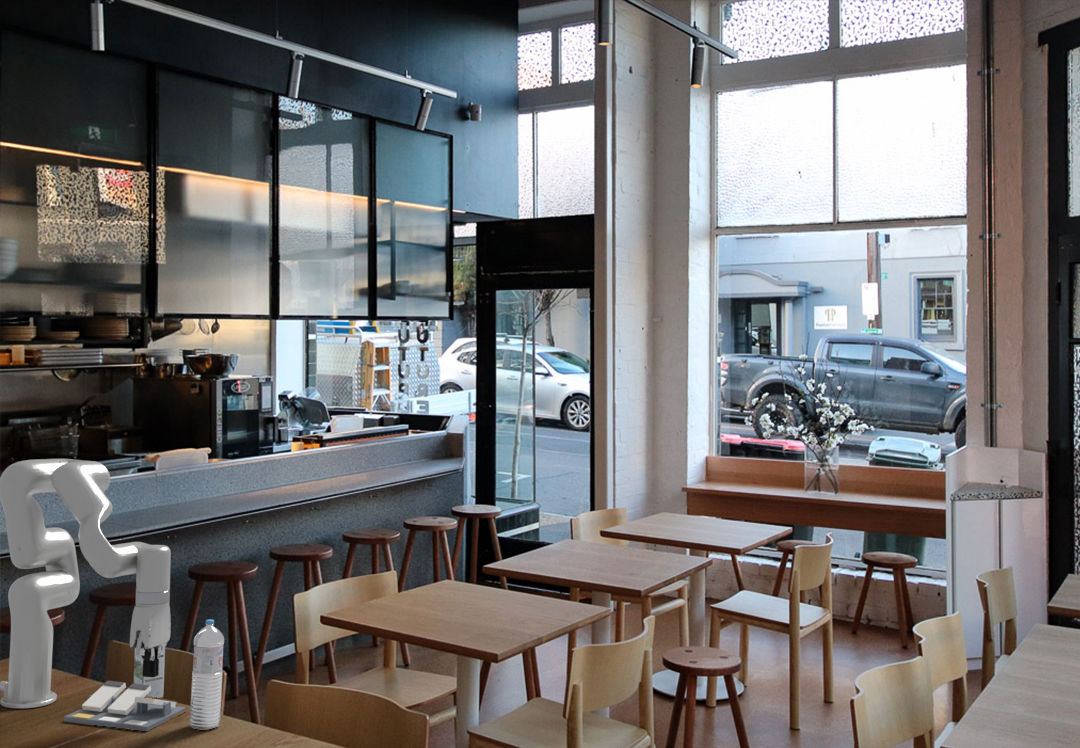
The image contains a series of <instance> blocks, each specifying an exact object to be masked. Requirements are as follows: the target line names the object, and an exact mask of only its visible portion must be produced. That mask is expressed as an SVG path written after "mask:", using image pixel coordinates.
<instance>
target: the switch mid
mask: <svg viewBox="0 0 1080 748" xmlns="http://www.w3.org/2000/svg"><path fill="white" fill-rule="evenodd" d="M150 691H151V686H149V685H142V684H133V683H132V684H131V685H129V687H127V689H125V690H124V691H123V693H121V694H120V695H119V696H120V697H119V698H118V699H117V700H116V701H115V702H114V703H113V704H112V705H110V706H109V707H108V713H115V714H123V715H127V714H128V713H129V712H130V711H131V710H132V709H133V708H134V707H135V706H136V705H137V702H134V700H135V697H143V698H144V697H145V696H146V695H147V694H148V693H149V692H150Z"/></svg>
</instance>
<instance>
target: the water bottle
mask: <svg viewBox="0 0 1080 748" xmlns="http://www.w3.org/2000/svg"><path fill="white" fill-rule="evenodd" d="M214 625H215V620H214V619H213V618H212V619H206V620H205V626H204V627H203V628H201V629H200V630H199V631H198V632H197V633H196V635H195V636H194V638H193V661H192V662H193V663H192V673H191V675H192V676H191V679H192V680H191V692H190V716H189V726H191V727H193V728H195V729H212V728H215V727H217V728H218V727H219V726H220V723H221V711H222V693H223V692H222V691H223V690H222V689H223V672H224V671H223V659H224V658H223V657H224V643H225V637H224V635H223V633H222V632H221V631H220V630H219V629H218V628H217V627H215V626H214ZM191 727H190V728H191ZM215 729H216V728H215ZM212 730H213V729H212Z"/></svg>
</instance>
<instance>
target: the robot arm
mask: <svg viewBox="0 0 1080 748" xmlns="http://www.w3.org/2000/svg"><path fill="white" fill-rule="evenodd" d="M110 483H111V475H110V471H109V470H108V468H107V467H106V466H105V465H104V464H103V463H101V462H98V461H95V460H93V461H92V460H84V459H83V460H82V459H72V458H45V459H44V458H42V459H41V458H40V459H27V460H21V461H16V462H14V463H12V464H10V465H8V466H7V467H6V468H5V469H4V471H3V472H2V473H1V476H0V503H1V506H2V510H3V514H4V518H5V525H6V535H7V541H8V550H9V556H10V561H11V562H12V564H13V566H15V568H17V569H20V570H21V569H22V570H29V569H36V568H41V567H45V571H41V572H35V573H31V574H26V575H24V576H20V577H18V578H17V579H16V580H15V581H14V582H12V584H11V585H10V586H9V589H8V592H7V593H8V594H7V598H8V607H9V612H10V643H9V644H10V645H9V662H8V681H6V680H1V681H0V692H3V696H2V697H1V698H0V705H1V706H2V707H4V708H7V709H8V708H9V709H32V708H33V709H34V708H39V707H40V708H41V707H43V706H48V705H51V704H53V703H54V702H55V701H56V700H57V698H58V694H57V693H56V692H54V691H52V690H51V688H52V687H51V685H52V683H51V682H52V666H53V645H54V626H53V625H54V624H53V622H52V620H51V618H50V615H49V614H48V611H49V610H53V609H58V608H62V607H66V606H69V605H71V604H73V603H74V602H75V601H76V600H77V598H78V596H79V594H80V588H81V585H80V584H81V583H80V582H81V581H80V573H79V567H78V559H77V551H76V546H75V541H74V539H73V537H72V535H71V534H70V533H69V531H67V530H66V529H63V528H61V527H46V525H45V519H44V512H43V510H42V507H41V505H40V504H39V502H38V501H37V500H36V498H35V497H34V496H33V495H35V494H42V493H43V494H46V493H57V495H58V496H59V497H60V499H61V500H62V501H63V503H64V504H65V506H66V507H67V509H68V510H69V511H70V513H72V515H73V517H74V518H75V520H76V521H77V522H78V524H79V527H78V543H79V548H80V552H81V554H82V555H83V557H84V558H85V560H86V561H87V562H88V563H89V566H91V568H92V569H93V570H94V572H95V573H97V574H98V575H100V576H101V577H104V578H106V579H107V578H108V579H112V578H117V577H122V576H129V575H134V574H136V578H135V579H136V581H135V582H136V585H135V605H134V606H133V607H134V608H133V610H132V615H131V624H130V632H129V633H130V634H129V647H130V648H131V649H135V648H136V652H135V651H134V655H135V654H136V655H141V658H142V660H143V677H155V676H158V675H159V659H158V658H160V656H161V650H162V649H163V648H164V647H165V648H166V646H168V645H167V644H168V642H169V641H170V638H171V633H172V632H171V631H172V630H171V629H172V628H171V627H172V626H171V625H172V623H171V620H172V619H171V618H172V617H171V607H170V597H171V596H170V595H171V593H170V592H171V591H170V590H171V563H172V562H171V558H172V557H171V555H172V553H171V552H172V551H171V549H170V547H169V546H168V545H165V544H149V543H146V542H142V541H131V542H125V543H118V544H111V543H110V542H109V541H108V539H107V538H106V536H104V533H103V531H102V529H101V526H100V525H101V524H102V523H103V522H105V521H106V520H107V519H108V518H109V516H110V515H111V514H112V512H113V504H112V502H111V501H110V499H109V498H108V497H107V495H106V494H105V493H104V492H105V491H106V490H107V489H108V488H109V486H110Z"/></svg>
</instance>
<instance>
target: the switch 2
mask: <svg viewBox="0 0 1080 748" xmlns="http://www.w3.org/2000/svg"><path fill="white" fill-rule="evenodd" d="M134 702H138V703H145V704H151V705H158V706H163V705H164V704H166V703H168V702H171V707H175V706H176V704H177V702H176V700H170V699H169V700H168V699H160V698H157V699H152V698H143V697H135V700H134Z"/></svg>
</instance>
